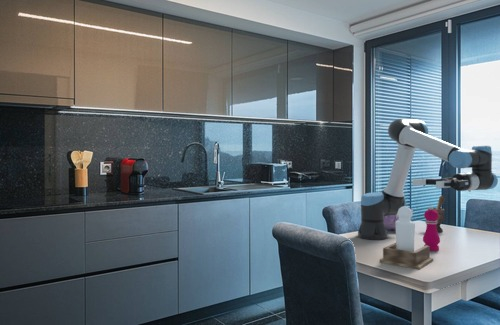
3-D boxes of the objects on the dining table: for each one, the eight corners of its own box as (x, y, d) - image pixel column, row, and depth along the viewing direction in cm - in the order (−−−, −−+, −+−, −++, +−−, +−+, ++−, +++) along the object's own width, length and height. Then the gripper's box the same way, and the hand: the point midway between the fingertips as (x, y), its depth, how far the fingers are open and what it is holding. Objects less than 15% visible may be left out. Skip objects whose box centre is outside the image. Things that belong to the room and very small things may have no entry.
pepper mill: (433, 252, 178) (432, 207, 177) (419, 248, 184) (419, 206, 184) (443, 250, 181) (443, 206, 181) (429, 246, 187) (429, 205, 187)
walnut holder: (379, 262, 162) (379, 247, 162) (395, 254, 174) (395, 241, 174) (419, 269, 151) (419, 253, 151) (433, 260, 163) (433, 246, 163)
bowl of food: (406, 233, 219) (405, 212, 219) (371, 229, 232) (371, 209, 232) (417, 228, 235) (417, 208, 234) (384, 224, 248) (384, 206, 247)
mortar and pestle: (430, 228, 233) (430, 195, 232) (446, 230, 227) (446, 195, 227) (426, 231, 223) (426, 196, 223) (442, 233, 218) (442, 197, 218)
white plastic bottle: (415, 262, 157) (415, 207, 157) (398, 261, 159) (397, 207, 158) (411, 258, 164) (411, 205, 163) (395, 257, 165) (395, 205, 165)
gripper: (489, 193, 158) (447, 195, 152) (442, 188, 182) (404, 190, 176) (489, 174, 158) (447, 175, 152) (442, 172, 182) (404, 173, 176)
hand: (424, 183), depth 164 cm, fingers open, 13 cm apart
